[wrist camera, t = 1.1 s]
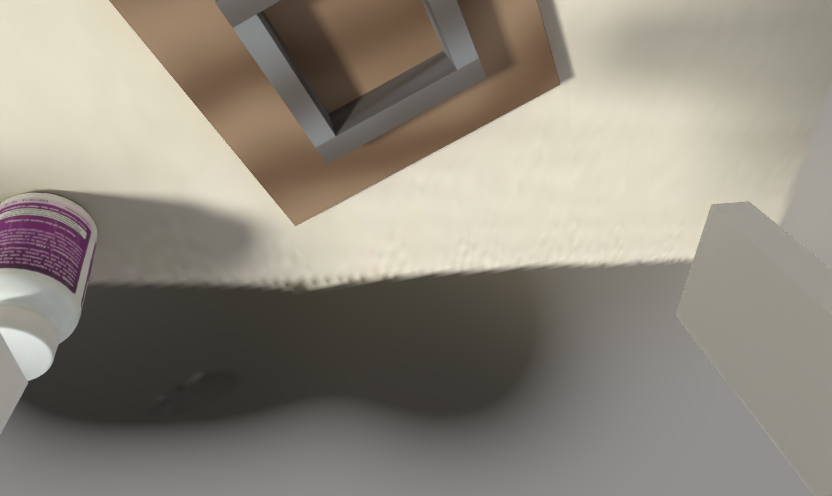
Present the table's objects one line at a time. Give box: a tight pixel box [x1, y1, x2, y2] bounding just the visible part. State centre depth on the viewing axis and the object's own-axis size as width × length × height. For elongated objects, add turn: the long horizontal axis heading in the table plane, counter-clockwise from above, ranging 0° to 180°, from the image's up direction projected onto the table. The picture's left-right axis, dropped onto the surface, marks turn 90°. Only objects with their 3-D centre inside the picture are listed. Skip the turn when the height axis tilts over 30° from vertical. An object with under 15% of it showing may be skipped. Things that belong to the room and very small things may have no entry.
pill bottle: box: [0, 193, 98, 381], centre depth 30 cm, size 5×5×10 cm
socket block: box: [109, 0, 560, 226], centre depth 29 cm, size 18×18×4 cm
